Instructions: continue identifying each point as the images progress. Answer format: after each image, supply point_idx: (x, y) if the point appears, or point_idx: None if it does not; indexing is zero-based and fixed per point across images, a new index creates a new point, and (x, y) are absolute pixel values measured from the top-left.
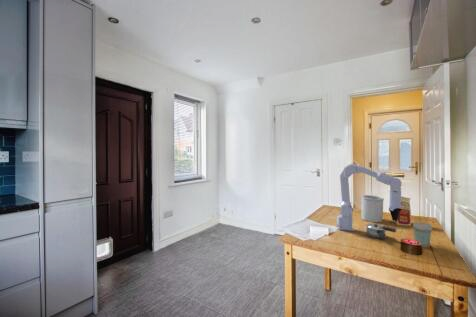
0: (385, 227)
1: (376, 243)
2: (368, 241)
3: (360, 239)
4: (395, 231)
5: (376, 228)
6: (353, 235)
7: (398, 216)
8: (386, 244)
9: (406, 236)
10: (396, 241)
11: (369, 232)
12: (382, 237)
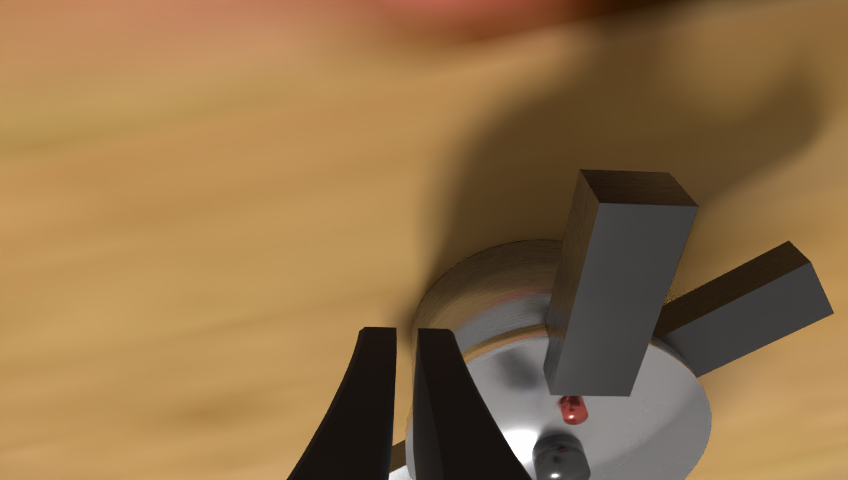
0: (641, 354)
1: (843, 257)
2: (808, 333)
3: (777, 400)
4: (639, 177)
5: (678, 420)
6: None
7: (341, 413)
8: (827, 159)
9: (182, 8)
10: (600, 83)
11: None
12: None
